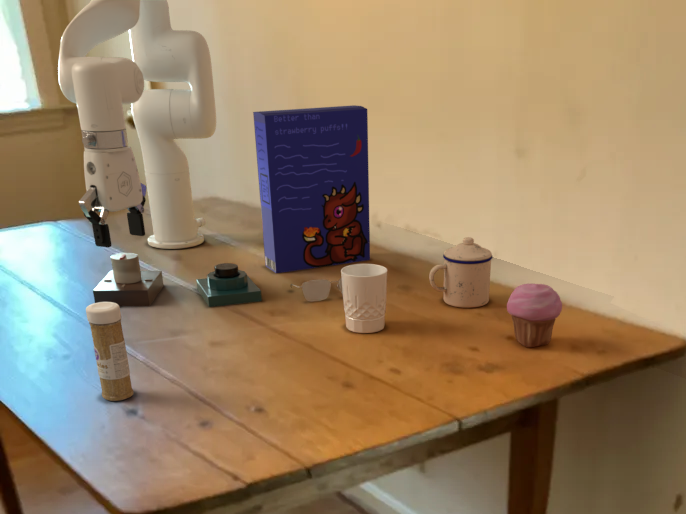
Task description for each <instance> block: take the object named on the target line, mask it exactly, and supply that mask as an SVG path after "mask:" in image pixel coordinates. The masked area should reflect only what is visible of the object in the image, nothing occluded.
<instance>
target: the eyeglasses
mask: <svg viewBox="0 0 686 514" xmlns="http://www.w3.org/2000/svg"><path fill="white" fill-rule="evenodd" d="M331 283H337V285H336V286H337V289H338V291H340V293H341V295H342V296H343V291H342V278H341V277H340V278H339V279H338V280H332V281H330V279H326V278H319V279H310V280H307V281H304V282H303V283H301V285H300V286H299V285H296V284H293V283H291V284H290V286H293V287H296V288H299V289H302V294H303V297H304V299H305V300H306V301H307V302H310V303H311V302H313V303H314V302H321V301H325V300H326V299H328V298H329V296H330V292H331V288H332V287H331V286H332V284H331Z"/></svg>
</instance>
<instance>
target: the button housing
mask: <svg viewBox="0 0 686 514" xmlns="http://www.w3.org/2000/svg"><path fill="white" fill-rule="evenodd" d="M238 273H239V276H237V277H234V278H217V277H215V270H214V271H213V270H212V271H210V272H209V273H208V274H206V278H196V280H195V281H196V290H197V291H198V292H199V294H200V296H201V297H202V298H203V300H204V302H205V303H206V305H207V306H208V308H212V307H213V308H214V307H222V306H232V305H239V304H240V305H241V304H249V303H259V302H262V301H263V299H262V291H261V289H260V288H259V287H258V286H257V284H255V282H254V281H253V280H252V279H251V277H250V276H249V275H248V274H247V272H246V271H244V270H241V269H238Z"/></svg>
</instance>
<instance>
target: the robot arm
mask: <svg viewBox="0 0 686 514" xmlns="http://www.w3.org/2000/svg"><path fill="white" fill-rule="evenodd" d="M126 32H128V34H129V35H128V36H129V43H130V49H131V58H132V59H130V58H127V57H120V56H87V55H88V54H89V53H90V51H92V50H93V49H94V48H95V47H97V46H99V45H101V44H103V43H105V42H108V41H109V40H112V39H114V38H116V37H119V36H120V35H123V34H125V33H126ZM59 44H60V45H59V54H58V64H57V65H58V67H57V70H58V71H57V72H58V73H57V75H58V84H59V88H60V90H61V92H62V94H63V96H64V97H65V98H66V99H67V100H68V101H69V102H71V103H72V104H76V108H77V113H78V119H79V125H80V130H81V136H82V138H81V143H82V144H83V148H84V149H83V170H84V171H83V173H84V183H85V191H86V192H85V193H84V194H83V196H82V197H81V198H80V199H79V200H78V205H79V207H80V210H81V211H82V212H83V216H84V217H85V218H86V220H88V223H89V224H90V225H91V226H92V227H91V228H92V232H93V238H94V239H93V240H94V243H95V246H96V247H102V248H111V247H112V239H111V233H110V232H111V231H110V227H109V224H108V223H106V222H107V219H108V215H109V212H110V213H116V212H120V211H123V210H127V211H128V212H126V218H127V225H128V232H129V234H130V236H137V237H144V236H146V230H145V222H144V215H143V214H144V213H145V205H146V201H147V198H146V195H147V196H148V203H149V204H148V205H149V212H150V217H151V224H152V231H153V234H151V235H149V236H148V237H147V245H149V246H150V247H152V248H157V249H162V250H163V249H165V250H178V249H187V248H193V247H197V246H199V245H201V244H203V243H204V241H205V237H204V234H202V233H201V232H199V228H202V227H205V226H206V224H207V220H206V219H205V218H204V217H203V216H201V217H199V218H197V217H196V216H195V210H194V209H195V208H194V201H193V191H192V185H191V184H192V183H191V175H190V167H189V161H188V158H187V155H186V153H185V152H184V150H182V148H181V147H180V146H179V144H178V143H177V142H176V140H179V139H181V140H182V139H183V140H184V139H190V140H191V139H193V140H194V139H195V140H197V139H208V138H211V137H212V136H213V135H214V134H215V132H216V130H217V109H216V99H215V98H216V97H215V89H214V88H215V87H214V79H213V78H214V77H213V67H212V58H211V52H210V47H209V45H208V42H207V39H206V38H205V36H204V35H202V34H201V33H200V32H197V31H195V30H187V29H186V30H183V29H182V30H178V29H177V30H176V29H175V30H174V29H173V28H172V24H171V17H170V8H169V3H168V0H90V1H89V2H88V3H87V4H86V5H84V7H83V8H82V9H80V10H79V12H78V13H77V14H75V16H74V17H73V18H72V19H71V21H70V22H69V23H68V25H66V28H65V29H64V31H63V33H62V35H61V39H60V43H59ZM145 81H146V82H154V83H187V84H188V85H189V87H190V89H173V88H165V89H164V88H151V89H150V88H149V89H145ZM144 89H145V90H144ZM124 105H131V107H130V108H131V115H132V121H133V123H134V127H135V129H136V133H137V137H138V140H139V146H140V150H141V155H142V162H143V170H144V176H145V182H146V183H145V184H144V183H142V182H141V179H140V174H139V169H138V164H137V161H136V158H135V155H134V152H133V149H132V147H131V146H129V141H128V134H127V126H126V119H125V113H124V107H123V106H124ZM99 213H100V214H99Z"/></svg>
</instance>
